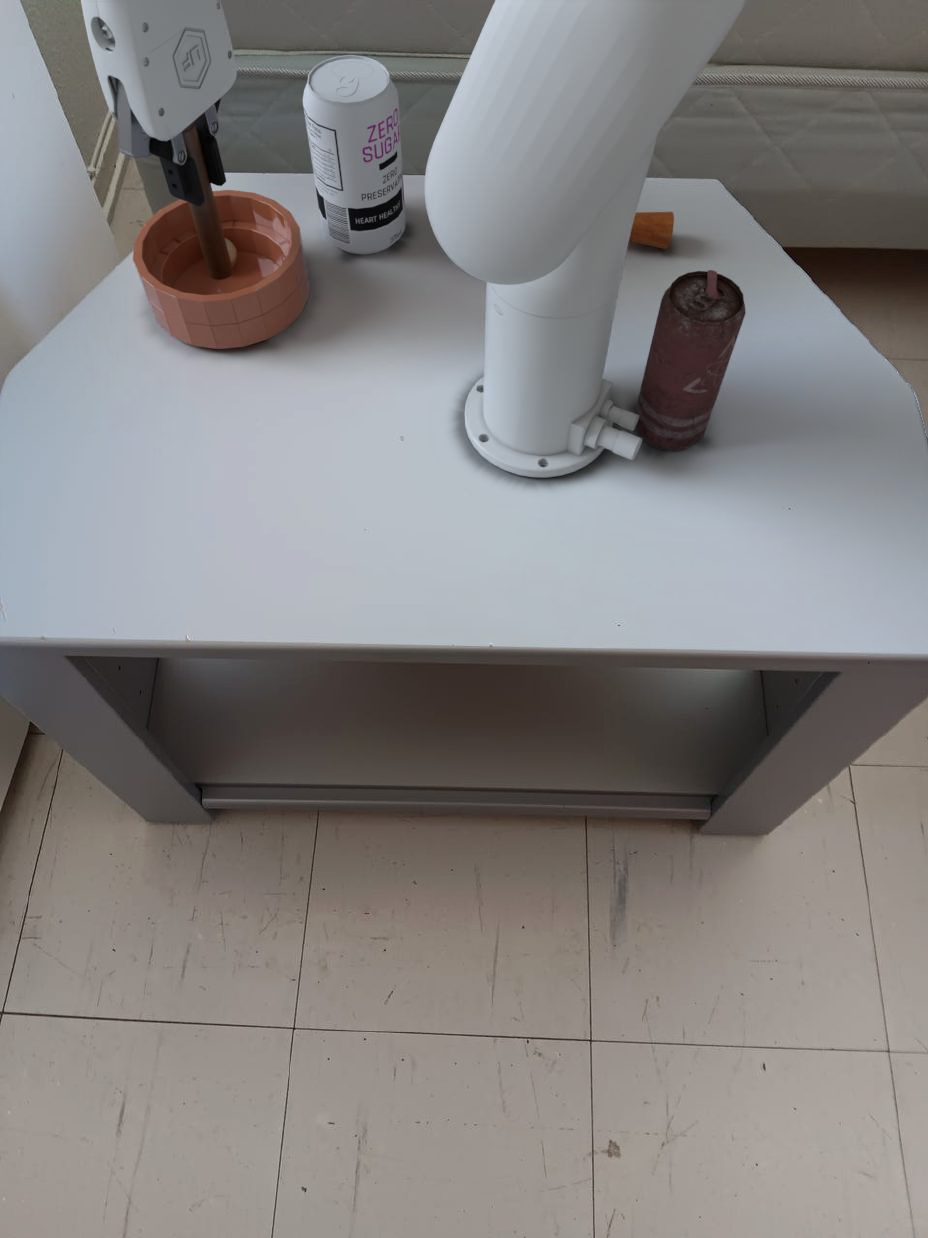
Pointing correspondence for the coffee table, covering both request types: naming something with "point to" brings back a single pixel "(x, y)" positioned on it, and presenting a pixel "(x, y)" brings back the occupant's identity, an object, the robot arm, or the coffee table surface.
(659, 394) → the can
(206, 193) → the stick
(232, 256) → the bead
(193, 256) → the bowl
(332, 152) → the supplement can
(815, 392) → the coffee table surface
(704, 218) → the coffee table surface
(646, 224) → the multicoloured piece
